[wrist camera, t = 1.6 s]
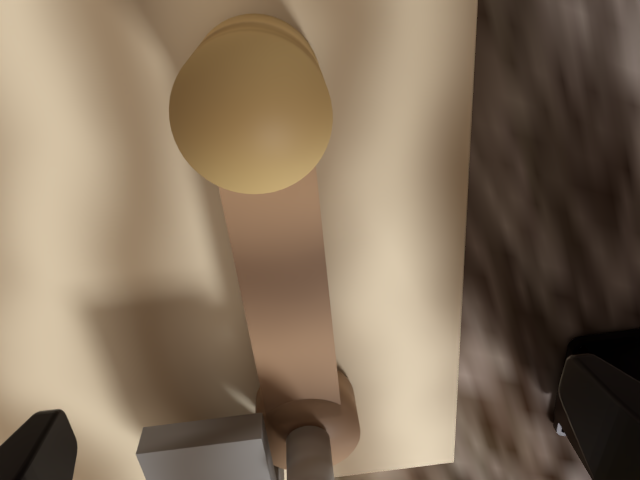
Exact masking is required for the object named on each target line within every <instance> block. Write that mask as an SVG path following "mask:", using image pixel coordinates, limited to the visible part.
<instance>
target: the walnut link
mask: <svg viewBox="0 0 640 480" xmlns="http://www.w3.org/2000/svg"><path fill="white" fill-rule="evenodd" d="M169 121H170V127H171V131H172V134H173V137H174V140H175V142H176V145H177V147H178V149H179V151H180V152H181V154H182V155H183V157H184V158H185V160H186V161H187V162H188V163H189V165H190V166H191V167H192V168H193V169H194V170H195V171H196V172H197V173H198V174H200V175H201V176H202V177H204V178H205V179H206V180H208V181H210V182H211V183H213V184H215V185H217V186H218V187H219V192H220V197H221V201H222V206H223V211H224V216H225V221H226V225H227V230H228V235H229V240H230V245H231V249H232V254H233V259H234V264H235V268H236V273H237V278H238V283H239V288H240V292H241V297H242V302H243V307H244V312H245V316H246V321H247V326H248V331H249V335H250V340H251V345H252V350H253V355H254V359H255V364H256V369H257V374H258V379H259V383H260V387H259V389H258V392H257V395H256V408H255V413H262V414H263V418H264V423H265V428H266V432H267V437H268V442H269V446H270V451H271V456H272V460H273V465H274V466H277V467H279V468H282V469H285V470H287V466H286V439H287V436H288V435H289V434H290V433H291V432H292V431H293V430H295V429H297V428H299V427H302V426H317V427H320V428H322V429H324V430H325V431H326V432H327V433H328V434H329V437H330V445H331V454H332V463H333V466H334V465H336V464H338V463H339V462H341V461H343V460H344V459H346V458H347V457H348V456H349V455H350V454H351V453H352V452H353V451H354V450H355V448H356V446H357V445H358V442H359V440H360V431H361V430H360V425H359V419H358V413H357V407H356V402H355V396H354V390H353V387H352V385H351V383H350V381H349V380H348V379H347V378H346V377H345V376H344V375H343V374H342V373H341V372H339V371H338V370H337V363H336V354H335V344H334V335H333V325H332V316H331V306H330V297H329V287H328V278H327V268H326V258H325V249H324V239H323V230H322V220H321V211H320V201H319V192H318V182H317V173H316V165H317V163H318V162H319V161H320V159H321V158H322V156H323V154H324V152H325V150H326V148H327V145H328V143H329V140H330V136H331V132H332V124H333V110H332V103H331V98H330V95H329V91H328V88H327V86H326V83H325V80H324V77H323V75H322V72H321V69H320V66H319V63H318V61H317V58H316V56H315V53H314V51H313V49H312V48H311V46H310V44H309V43H308V41H307V40H306V39H305V38H304V36H303V35H302V34H301V33H300V32H299V31H298V30H296V29H295V28H294V27H292V26H291V25H290V24H288V23H286V22H285V21H283V20H281V19H278V18H276V17H273V16H269V15H265V14H243V15H238V16H235V17H232V18H229V19H227V20H225V21H223V22H221V23H220V24H219V25H217V26H216V27H214V28H213V29H212V30H211V31H210V32H209V33H208V34H207V35H206V37H205V38H204V39H203V41H202V42H201V43H200V44H199V46H198V47H197V48H196V50H195V51H194V52H193V54H192V55H191V56H190V57H189V59H188V60H187V61H186V63H185V64H184V65H183V66H182V68H181V70H180V71H179V73H178V75H177V77H176V79H175V81H174V84H173V86H172V90H171V94H170V100H169Z"/></svg>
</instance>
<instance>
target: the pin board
mask: <svg viewBox="0 0 640 480" xmlns="http://www.w3.org/2000/svg"><path fill="white" fill-rule="evenodd" d="M477 5H478V0H0V445H1V444H2V443H3V442H5V441H6V440H7V439H8V438H9V437H10V436H11V435H12V434H13V433H14V432H15V431H16V430H17V429H18V428H19V427H20V426H21V425H22V424H23V423H24V422H26V421H27V420H28V419H29V418H30V417H31V416H32V415H33V414H34V413H36V412H38V411H43V410H53V409H61V410H63V411H64V412H65V414H66V416H67V418H68V420H69V423H70V425H71V427H72V430H73V432H74V435H75V437H76V440H77V447H78V449H77V457H76V463H75V469H74V474H73V480H334V477H341V476H349V475H356V474H364V473H372V472H380V471H388V470H396V469H404V468H412V467H419V466H427V465H435V464H443V463H451V462H454V446H455V427H456V408H457V389H458V369H459V350H460V331H461V312H462V293H463V273H464V254H465V235H466V216H467V197H468V177H469V158H470V139H471V120H472V101H473V81H474V62H475V43H476V24H477ZM243 14H265V15H269V16H273V17H276V18H278V19H281V20H283V21H285V22H286V23H288V24H290V25H291V26H292V27H294V28H295V29H296V30H298V31H299V32H300V33H301V34H302V35H303V36H304V38H305V39H306V40H307V41H308V43H309V44H310V46H311V48H312V49H313V51H314V53H315V56H316V58H317V61H318V63H319V66H320V69H321V72H322V75H323V77H324V80H325V83H326V86H327V88H328V91H329V95H330V98H331V103H332V110H333V124H332V132H331V136H330V140H329V143H328V145H327V148H326V150H325V152H324V154H323V156H322V158H321V159H320V161H319V162H318V163H317V165H316V173H317V182H318V192H319V201H320V211H321V220H322V230H323V239H324V249H325V258H326V268H327V278H328V287H329V297H330V306H331V316H332V325H333V335H334V344H335V354H336V363H337V370H338V371H339V372H341V373H342V374H343V375H344V376H345V377H346V378H347V379H348V380H349V381H350V383H351V385H352V387H353V390H354V396H355V402H356V407H357V413H358V419H359V425H360V430H361V431H360V440H359V442H358V445H357V446H356V448H355V450H354V451H353V452H352V453H351V454H350V455H349V456H348V457H347V458H346V459H344V460H343V461H341V462H339V463H338V464H336V465H334V466H333V463H332V454H331V445H330V437H329V434H328V433H327V432H326V431H325V430H324V429H322V428H320V427H317V426H302V427H299V428H297V429H295V430H293V431H292V432H291V433H290V434H289V435H288V436H287V439H286V466H287V470H285V469H282V468H279V467H277V466H274V465H273V460H272V456H271V451H270V446H269V442H268V437H267V432H266V428H265V423H264V418H263V414H262V413H255V408H256V395H257V392H258V389H259V387H260V383H259V379H258V374H257V369H256V364H255V359H254V355H253V350H252V345H251V340H250V335H249V331H248V326H247V321H246V316H245V312H244V307H243V302H242V297H241V292H240V288H239V283H238V278H237V273H236V268H235V264H234V259H233V254H232V249H231V245H230V240H229V235H228V230H227V225H226V221H225V216H224V211H223V206H222V201H221V197H220V192H219V187H218V186H217V185H215V184H213V183H211V182H210V181H208V180H206V179H205V178H204V177H202V176H201V175H200V174H198V173H197V172H196V171H195V170H194V169H193V168H192V167H191V166H190V165H189V163H188V162H187V161H186V160H185V158H184V157H183V155H182V154H181V152H180V151H179V149H178V147H177V145H176V142H175V140H174V137H173V134H172V131H171V127H170V121H169V100H170V94H171V90H172V86H173V84H174V81H175V79H176V77H177V75H178V73H179V71H180V70H181V68H182V66H183V65H184V64H185V63H186V61H187V60H188V59H189V57H190V56H191V55H192V54H193V52H194V51H195V50H196V48H197V47H198V46H199V44H200V43H201V42H202V41H203V39H204V38H205V37H206V35H207V34H208V33H209V32H210V31H211V30H212V29H213V28H214V27H216V26H217V25H219V24H220V23H221V22H223V21H225V20H227V19H229V18H232V17H235V16H238V15H243Z"/></svg>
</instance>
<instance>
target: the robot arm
mask: <svg viewBox="0 0 640 480" xmlns="http://www.w3.org/2000/svg"><path fill="white" fill-rule="evenodd" d="M580 347H581V348H580ZM554 416H555V418H554V423H553V427H554V429H555V430H556V432H557V433H558V435H561V436H567V438H568V439H569V441H570V443H571V444H572V446H573V448H574V450H575V451H576V453H577V455H578V456H579V458H580V460H581V461H582V463H583V465H584V466H585V468H586V470H587V471H588V473H589V475H590V477H591V478H592V480H640V329H637V330H629V331H621V332H613V333H605V334H597V335H589V336H581V337H576V338H574V339H573V340H572V341H571V342H570V343H569V345H568V349H567V354H566V359H565V365H564V369H563V373H562V377H561V380H560V382H559V387H558V393H557V398H556V404H555V409H554ZM77 449H78V447H77V440H76V437H75V435H74V432H73V430H72V427H71V425H70V423H69V420H68V418H67V416H66V414H65V412H64V411H63V410H61V409H53V410H43V411H38V412H36V413H34V414H33V415H32V416H31V417H30V418H29V419H28V420H27V421H26V422H24V423H23V424H22V425H21V426H20V427H19V428H18V429H17V430H16V431H15V432H14V433H13V434H12V435H11V436H10V437H9V438H8V439H7V440H6V441H5V442H3V443H2V444H1V445H0V480H73V474H74V469H75V463H76V457H77Z"/></svg>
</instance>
